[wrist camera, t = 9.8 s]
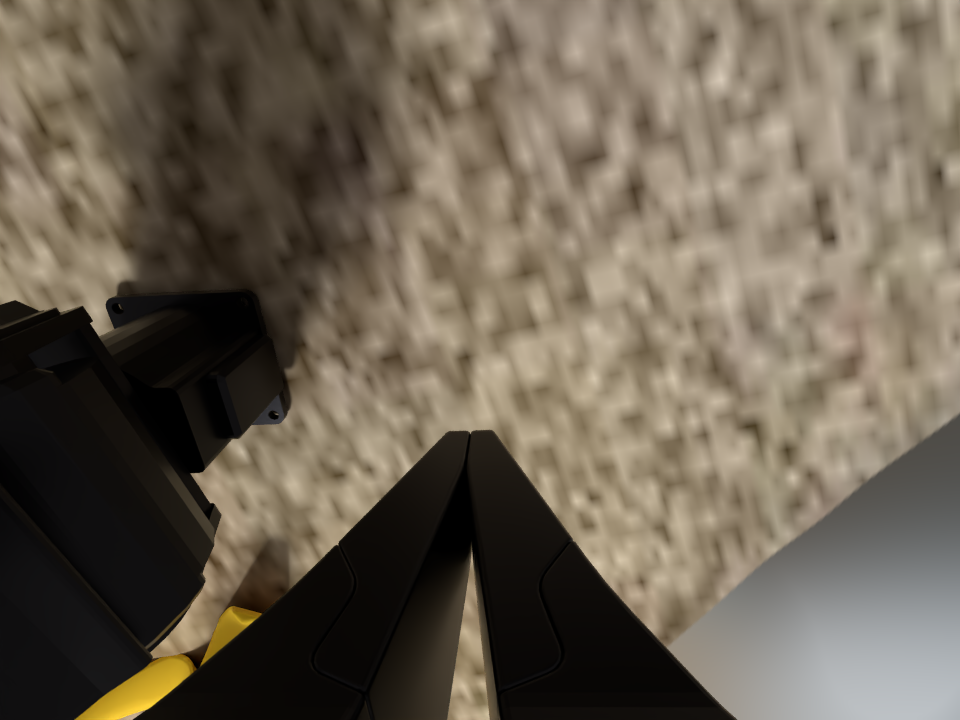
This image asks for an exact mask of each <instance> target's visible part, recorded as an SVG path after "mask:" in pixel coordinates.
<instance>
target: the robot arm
mask: <svg viewBox="0 0 960 720" xmlns="http://www.w3.org/2000/svg"><path fill="white" fill-rule="evenodd" d="M241 297H242V298H245V299H246V300H247V301H248V303H249V306H245V305H244V304H243V303H242V301H241ZM119 304H120V305H121V306H122V307H123V309H124V311H123V310H121V309H120V307H119ZM106 309H107V312H108V314H109V317H110V319H111V322H112V324H113V327H114V330H112V331H110V332H108V333H106V334H104V335H101V336H98V335H97V333H96V332H95V330H94V329H93V327H92V326H91V324H90V323H91V322H93V320H92V319H91V317H90V316H89V314H88V313H87V311H86V310H85V308H84V307H83V306H80V307H77V308H74V309H70V310H67V311H64V312H59V310H58V309H57V307H56V308H53V309H49V310H46V311H44V310H43V311H38V310H36V309H34V308H31V307H29V306H27V305H25V304H22V303H20V302H18V301H16V300H14V301H11V302H8V303H5V304H2V305H0V720H75V719H76V718H77V717H79V716H80V715H81V714H82V713H83V712H85V711H86V710H87V709H88V708H90V707H91V706H92V705H93V704H94V703H96V702H97V701H98V700H99V699H100V698H102V697H103V696H104V695H106V694H107V693H109V692H110V691H112V690H113V689H115V688H116V687H118V686H119V685H121V684H122V683H124V682H125V681H127V680H128V679H130V678H131V677H133V676H134V675H136V674H137V673H138V672H140V671H141V670H143V669H144V668H146V667H147V666H148V665H149V664H150V662H151V660H152V657H153V656H152V655H151V653H150V652H151V651H152V650H153V649H154V648H155V647H156V646H157V645H159V644H160V643H161V642H162V641H163V640H164V639H165V638H166V637H167V636H168V635H169V634H170V633H171V632H172V630H173V629H174V628H175V627H176V626H177V625H178V623H179V622H180V621H181V620H182V618H183V617H184V615H185V614H186V612H187V611H188V609H189V608H190V606H191V604H192V603H193V601H194V600H195V599H196V597H197V596H198V595H199V593H200V592H201V590H202V588H203V586H204V583H205V577H204V576H203V570H204V567H205V564H206V562H207V560H208V558H209V556H210V553H211V551H212V549H213V547H214V537H215V534H216V531H217V527H218V524H219V521H220V518H221V513H220V512H219V510H218V509H217V507H216V506H215V504H214V503H210V502H209V501H208V499H207V498H206V496H205V495H204V493H203V492H202V490H201V489H200V487H199V486H198V484H197V483H196V481H195V480H194V478H193V477H192V475H191V474H190V473H200V472H203V471H204V470H205V469H206V468H207V467H208V466H209V464H210V463H211V462H212V461H213V460H214V459H215V458H216V457H217V456H218V454H219V453H220V452H221V451H222V450H223V449H224V448H225V447H226V446H227V445H228V443H229V442H230V441H231V440H232V439H239V438H240V437H241V436H242V435H243V434H244V433H245V432H246V431H247V429H248V428H249V427H250V426H251V425H265V424H279V423H281V422H282V421H283V420H284V419H285V418H286V416H287V407H286V403H285V400H284V396H283V392H282V390H283V388H284V384H283V380H282V376H281V372H280V368H279V364H278V361H277V357H276V353H275V349H274V345H273V341H272V339H271V338H270V337H269V336H268V335H267V331H266V327H265V323H264V319H263V315H262V312H261V308H260V304H259V300H258V298H257V296H256V295H255V294H254V293H253V292H252V291H250V290H247V289H236V290H215V291H193V292H171V293H150V294H128V295H118V296H115V297H112V298H110V299H108V300H107V302H106ZM272 410H273V411H276V412H277V413H278V414H279V415H275V414H274V413H273V412H272ZM338 545H339V546H338ZM338 545H335V546H334V547H333V548H332V549H331V550H330V551H329V552H328V553H327V554H326V555H325V556H324V557H323V558H322V559H321V560H320V561H319V562H318V563H317V564H316V565H315V566H314V567H313V568H312V569H311V570H310V571H309V572H308V573H307V574H306V575H305V576H304V577H303V578H302V579H301V580H299V581H298V582H297V583H296V584H295V585H294V586H293V587H292V588H291V589H290V590H289V591H288V592H286V593H285V594H284V595H283V596H282V597H281V598H280V599H279V600H277V601H276V602H275V603H274V604H273V605H272V606H271V607H269V608H268V609H267V610H266V611H265V612H264V613H263V614H261V615H260V616H259V617H258V618H257V619H256V620H254V621H253V622H252V623H251V624H250V625H249V626H247V627H246V628H245V629H244V630H243V631H241V632H240V633H239V634H238V635H237V636H236V637H234V638H233V639H232V640H231V641H230V642H228V643H227V644H226V645H225V646H224V647H223V648H221V649H220V650H219V651H218V652H217V653H215V654H214V655H213V656H212V657H211V658H209V659H208V660H207V661H206V662H205V663H204V664H202V665H201V666H200V667H199V668H198V669H196V670H195V671H194V672H193V673H192V674H191V675H189V676H188V677H187V678H186V679H185V680H183V681H182V682H181V683H180V684H179V685H178V686H176V687H175V688H174V689H173V690H172V691H170V692H169V693H168V694H167V695H165V696H164V697H163V698H162V699H160V700H159V701H158V702H157V703H155V704H154V705H153V706H152V707H150V708H149V709H147V710H146V711H144V712H143V713H142V714H140V715H139V716H137V717H136V718H134V719H133V720H447V716H448V709H449V703H450V696H451V689H452V683H453V676H454V669H455V663H456V656H457V649H458V643H459V636H460V630H461V623H462V616H463V610H464V603H465V596H466V590H467V583H468V576H469V570H470V562H471V553H473V566H474V575H475V585H476V594H477V603H478V613H479V622H480V632H481V641H482V650H483V660H484V669H485V678H486V688H487V697H488V706H489V716H490V720H737V719H736V718H735V717H734V716H733V715H731V714H730V713H729V712H728V711H727V710H726V709H725V708H724V707H723V706H722V705H721V704H719V702H718V701H717V700H716V699H715V698H714V697H712V695H711V694H710V693H709V692H707V690H706V689H705V688H704V687H703V686H702V685H701V684H700V683H699V682H698V681H697V680H696V679H695V678H694V676H693V675H692V674H691V673H690V672H689V671H688V670H687V669H686V668H685V667H684V666H683V665H682V664H681V663H680V662H679V661H678V660H677V658H676V657H674V655H673V654H672V653H671V652H670V651H669V650H668V649H667V648H666V647H665V646H664V645H663V644H662V643H661V642H660V641H659V639H658V638H657V637H656V636H655V635H654V634H653V633H652V632H651V631H650V630H649V629H648V628H647V627H646V626H645V625H644V624H643V623H642V621H641V620H640V619H639V618H638V617H637V616H636V615H635V614H634V613H633V612H632V611H631V610H630V609H629V607H628V606H627V605H626V604H625V603H624V602H623V601H622V600H621V599H620V597H619V596H618V595H617V594H616V593H615V592H614V591H613V590H612V589H611V587H610V586H609V585H608V584H607V583H606V581H605V580H604V579H603V578H602V576H601V575H600V574H599V573H598V571H597V570H596V569H595V568H594V566H593V565H592V564H591V563H590V561H589V560H588V559H587V557H586V556H585V555H584V553H583V552H582V550H581V549H580V548H579V546H578V545H577V544H576V542H574V541H573V539H572V537H571V536H570V534H569V533H568V532H567V530H566V529H565V528H564V526H563V525H562V524H561V522H560V521H559V519H558V518H557V517H556V515H555V514H554V513H553V511H552V510H551V509H550V507H549V506H548V504H547V503H546V502H545V500H544V499H543V498H542V496H541V495H540V494H539V492H538V491H537V489H536V488H535V487H534V485H533V484H532V483H531V481H530V480H529V479H528V477H527V476H526V474H525V473H524V472H523V470H522V469H521V468H520V466H519V465H518V464H517V462H516V461H515V460H514V458H513V457H512V455H511V454H510V453H509V451H508V450H507V449H506V447H505V446H504V445H503V443H502V442H501V440H500V439H499V438H498V436H497V435H496V434H495V432H494V431H492V430H475V431H472V432H471V434H470V432H468V431H449V432H447V433H446V434H445V435H444V436H443V437H442V438H441V439H440V440H439V441H438V442H437V443H436V444H435V445H434V446H433V447H432V448H431V449H430V450H429V451H428V452H427V453H426V454H425V455H424V456H423V457H422V458H421V459H420V460H419V461H418V462H417V463H416V464H415V465H414V466H413V467H412V468H411V469H410V470H409V471H408V472H407V473H406V474H405V475H404V476H403V477H402V478H401V479H400V480H399V481H398V482H397V484H396V485H395V486H394V487H393V488H392V489H391V490H390V491H389V492H388V493H387V494H386V495H385V496H384V497H383V498H382V499H381V500H380V501H379V502H378V503H377V504H376V505H375V506H374V507H373V508H372V509H371V510H370V511H369V512H368V513H367V514H366V515H365V516H364V517H363V518H362V519H361V520H360V521H359V522H358V523H357V524H356V525H355V526H354V527H353V528H352V529H351V530H350V531H349V532H348V533H347V534H346V535H345V536H344V537H343V538H342V539H341V540H340V541H339V543H338Z"/></svg>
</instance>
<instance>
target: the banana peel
mask: <svg viewBox="0 0 960 720" xmlns="http://www.w3.org/2000/svg"><path fill="white" fill-rule="evenodd" d="M261 614H262V613H258V612H254V611H251V610H247V609H243V608H239V607H235V606H232V607H229V608H228V609H227V610H226V611H225V612H224V613H223V614H222V615H221V617H220V618H219V621H218V625H217V627H216V630H215V631H214V633H213V636H212V639H211V641H210V644H209V647H208V649H207V651H206V654H205V656H204V658H203V661H202V663H201V665H202V664H204V663H205V662H206V661H207V660H208V659H209V658H211V657H212V656H213V655H214V654H215V653H217V652H218V651H219V650H220V649H221V648H223V647H224V646H225V645H226V644H227V643H228V642H230V641H231V640H232V639H233V638H234V637H236V636H237V635H238V634H239V633H240V632H241V631H243V630H244V629H245V628H246V627H247V626H249V625H250V624H251V623H252V622H253V621H254V620H256V619H257V618H258V617H259V616H260V615H261ZM201 665H200V666H201ZM195 670H196V667H195V666H194V664H193V663H192V661H191V660H190V659H189V657H187V656H185V655H183V654H179V655H174V656H168V657H161V658H159V659H157V660H155V661H153V662H151V663H150V664H149V665H148V666H147V667H146V668H144V669H143V670H141V671H140V672H138V673H137V674H136V675H134V676H133V677H131V678H130V679H128V680H127V681H125V682H124V683H122V684H121V685H119V686H118V687H116V688H115V689H113V690H112V691H110V692H109V693H107V694H106V695H104V696H103V697H102V698H100V699H99V700H98V701H97V702H96V703H94V704H93V705H92V706H91V707H90V708H88V709H87V710H86V711H85V712H83V713H82V714H81V715H80V716H79V717H77V718H76V719H75V720H118V719H120V718H123V717H125V716H128V715H131V714H134V713H137V712H140V711H143V710H146V709H149V708H150V707H152V706H153V705H154V704H155V703H157V702H158V701H159V700H160V699H162V698H163V697H164V696H165V695H167V694H168V693H169V692H170V691H172V690H173V689H174V688H175V687H176V686H178V685H179V684H180V683H181V682H182V681H183V680H185V679H186V678H187V677H188V676H189V675H191V674H192V673H193V672H194V671H195Z"/></svg>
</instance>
